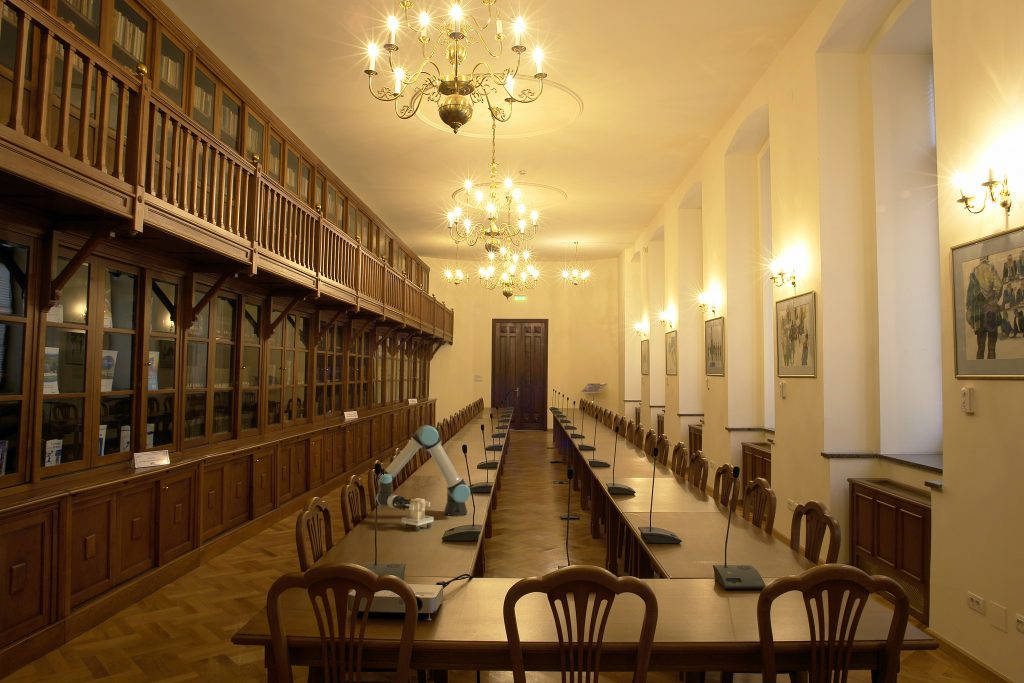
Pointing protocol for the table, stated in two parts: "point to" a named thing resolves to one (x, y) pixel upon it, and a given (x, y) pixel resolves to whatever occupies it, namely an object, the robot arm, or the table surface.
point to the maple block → (418, 509)
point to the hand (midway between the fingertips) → (421, 506)
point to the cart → (417, 522)
